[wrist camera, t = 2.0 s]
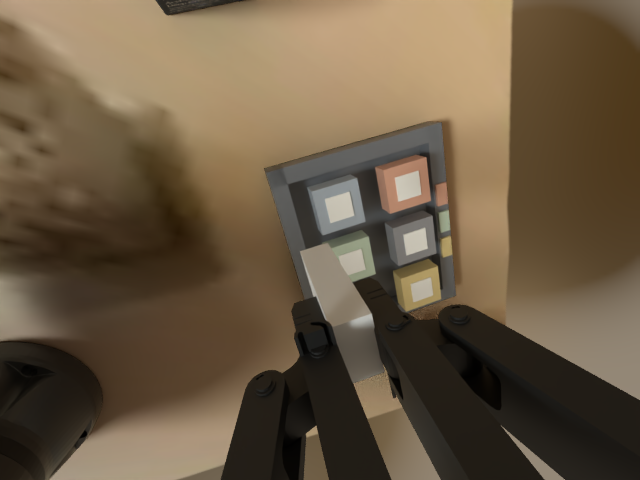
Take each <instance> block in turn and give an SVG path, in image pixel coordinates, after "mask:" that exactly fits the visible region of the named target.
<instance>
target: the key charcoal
mask: <svg viewBox="0 0 640 480" xmlns="http://www.w3.org/2000/svg"><path fill="white" fill-rule="evenodd" d="M385 228H386V234H387V240H388V246H389V252H390V258H391V259H392V260H393V261H394V262H395V263H396V264H397V265H398V266H401V265H404V264H407V263H410V262H413V261H415V260H418V259H421V258H424V257H427V256H430V255H433V254H436V244H435V235H434V225H433V216H432V215H430V214H429V213H427V212H425V211H423V210H422V211H419V212H416V213H412V214H409V215H406V216H403V217H400V218H397V219H394V220H391V221H388V222H385Z"/></svg>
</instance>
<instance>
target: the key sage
mask: <svg viewBox="0 0 640 480" xmlns="http://www.w3.org/2000/svg"><path fill="white" fill-rule="evenodd" d="M325 243H328V244H329V246H330V247H331V249H332V251H333V252H334V254H335V255H336V257H337V259H338V260H339V262H340V264H341V265H342V267H343V268H344V270H345V272H346V273H347V275H348V276H349V278H350V280H351V281H352V282H354V281H357V280H360V279H363V278H366V277H369V276H372V275H374V274H376V272H375V267H374V262H373V257H372V252H371V247H370V242H369V236H368V235H366V234H365V233H364V232H363V231H362V230H360V231H356V232H353V233H350V234H347V235H344V236H341V237H338V238H335V239H332V240H329V241H325V242H322V244H325Z"/></svg>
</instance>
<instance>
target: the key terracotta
mask: <svg viewBox="0 0 640 480" xmlns="http://www.w3.org/2000/svg"><path fill="white" fill-rule="evenodd" d="M375 170H376V175H377V181H378V187H379V193H380V199H381V205H382V209H384V210H385V211H387V212H388V213H390V214H391V213H394V212H398V211H401V210H404V209H407V208H410V207H413V206H416V205H420V204H423V203H426V202H429V201H431V197H430V187H429V178H428V168H427V159H426V157H423V156H419V155H413V156H410V157H407V158H403V159H400V160H397V161H393V162H390V163H387V164H383V165H380V166H377V167H375Z"/></svg>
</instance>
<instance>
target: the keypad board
mask: <svg viewBox="0 0 640 480" xmlns="http://www.w3.org/2000/svg"><path fill="white" fill-rule="evenodd" d="M413 155H419V156H423V157H426V159H427V168H428V178H429V187H430V197H431V201H429V202H426V203H423V204H420V205H416V206H413V207H410V208H407V209H404V210H401V211H398V212H394V213H391V214H390V213H388V212H387V211H385V210H384V209H382V205H381V199H380V193H379V187H378V181H377V175H376V170H375V167H377V166H380V165H383V164H387V163H390V162H393V161H397V160H400V159H403V158H407V157H410V156H413ZM264 169H265V173H266V176H267V179H268V182H269V186H270V189H271V192H272V195H273V199H274V202H275V205H276V208H277V212H278V215H279V218H280V221H281V225H282V228H283V231H284V234H285V238H286V241H287V244H288V247H289V251H290V254H291V257H292V260H293V264H294V267H295V270H296V273H297V277H298V280H299V283H300V286H301V290H302V293H303V296H304V299H305V300H306V299H309V298H312V297H314V296H313V294H312V290H311V287H310V284H309V280H308V277H307V273H306V270H305V267H304V263H303V260H302V257H301V253H300V251H303V250H306V249H309V248H312V247H315V246H318V245H322V242H325V241H329V240H332V239H335V238H338V237H341V236H344V235H347V234H350V233H353V232H356V231H360V230H362V231H363V232H364V233H365V234H366V235H368V236H369V242H370V247H371V252H372V257H373V262H374V267H375V272H376V274H374V275H372V276H369V277H366V278H363V279H360V280H357V281H354V282H352V283H355V282H358V281H361V280H364V279H367V278H372V279H374V280H376V281H378V282H379V283H380V284H381V286H382V287H383V289H384V290H385V291H386V292H387V294H388V295H389V296H390V297H391V299H392V300H393V301H394V302H395V304H396V305H397V306H398V308H399V309H400V310H401V311H402V312H405V313H409V312H412V311H415V310H418V309H420V308H423V307H426V306H429V305H432V304H434V303H437V302H440V301H443V300H445V299H448V298H451V297H454V296H456V291H455V279H454V267H453V255H452V243H451V231H450V219H449V207H448V195H447V183H446V170H445V158H444V146H443V134H442V122H425V123H421V124H418V125H414V126H411V127H407V128H404V129H400V130H397V131H393V132H390V133H386V134H383V135H379V136H376V137H372V138H369V139H365V140H362V141H358V142H355V143H351V144H348V145H344V146H341V147H337V148H334V149H330V150H327V151H323V152H320V153H316V154H313V155H309V156H306V157H302V158H299V159H295V160H292V161H288V162H285V163H281V164H278V165H274V166H271V167H267V168H264ZM350 174H351V175H352V176H354V177H356V178H357V180H358V185H359V190H360V195H361V201H362V206H363V211H364V216H365V221H366V222H363V223H360V224H357V225H354V226H351V227H347V228H344V229H341V230H338V231H335V232H332V233H329V234H326V235H322V234H321V232H320V231H319V229H318V227H317V223H316V219H315V215H314V211H313V207H312V204H311V200H310V196H309V192H308V188H307V187H310V186H313V185H316V184H320V183H323V182H326V181H330V180H333V179H336V178H340V177H343V176H346V175H350ZM422 210H423V211H425V212H427V213H429V214H430V215H432V216H433V225H434V235H435V244H436V254H433V255H430V256H427V257H424V258H421V259H418V260H415V261H413V262H410V263H407V264H404V265H401V266H398V265H397V264H396V263H395V262H394V261H393V260H392V259H391V258H390V252H389V246H388V240H387V234H386V228H385V222H388V221H391V220H394V219H397V218H400V217H403V216H406V215H409V214H412V213H416V212H419V211H422ZM426 259H429V260H430V261H432V262H433V263H434V264H436V265H437V266H438V273H439V282H440V292H441V299H440V300H437V301H435V302H432V303H429V304H426V305H424V306H421V307H418V308H415V309H413V310H410V311H407V312H406V311H405V310H404V309H403V308H402V307H401V305H400V304H399V303H398V299H397V293H396V287H395V281H394V275H393V271H394V270H397V269H400V268H403V267H405V266H408V265H411V264H414V263H417V262H420V261H423V260H426Z"/></svg>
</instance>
